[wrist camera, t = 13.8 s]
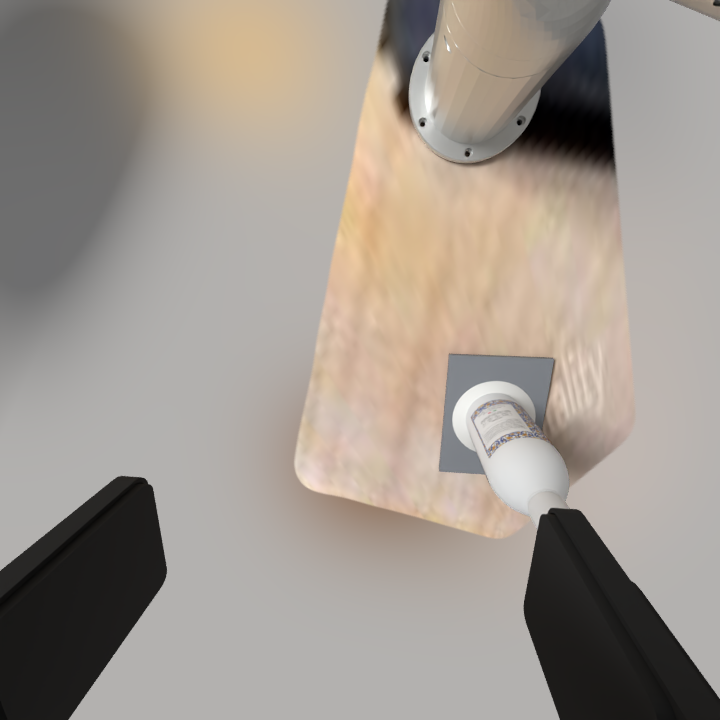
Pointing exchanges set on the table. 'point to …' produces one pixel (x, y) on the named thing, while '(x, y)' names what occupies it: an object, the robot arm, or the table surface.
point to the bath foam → (517, 456)
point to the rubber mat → (479, 378)
